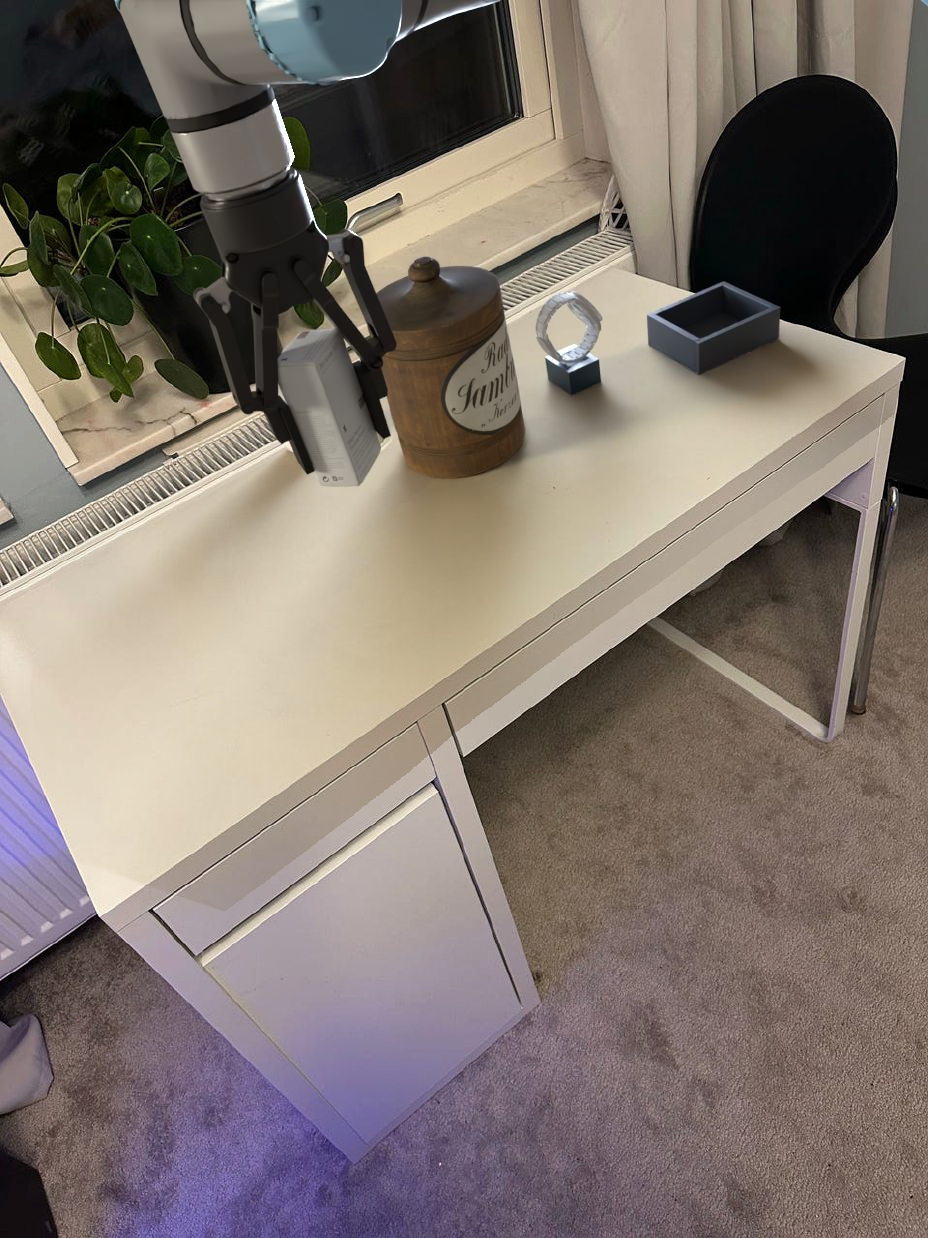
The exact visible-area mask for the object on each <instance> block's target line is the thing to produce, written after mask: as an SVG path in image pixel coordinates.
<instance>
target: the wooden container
mask: <svg viewBox="0 0 928 1238" xmlns="http://www.w3.org/2000/svg"><path fill="white" fill-rule="evenodd" d="M376 294H377V296H378V299H379V301H380V304H381V306H382V309H383V311H384V313H385V316H386V318H387V321H388V323H389V326H390V328H391V330H392V333H393V335H394V338H395V340H396V344H397V345H396V348H395V350H393V351H392V352H387V353H386V354H385V355H384V356H383V357H382V359H383V366H382V368H381V369H382V372H383V375H384V379H385V382H386V385H387V389H388V395H387V396H386V400H387V404H388V408H389V411H390V414H391V419H392V422H393V425H394V428H395V431H396V434H397V438H398V442H399V445H400V448H401V452H402V455H403V458H404V460H405V461H404V462H405V463H406V464H407V465H408V467H410V468H411V469H412V470H413V471H415V472H416V473H419V474H421V475H424V476H427V477H432V478H438V479H457V478H465V477H469V476H474V475H477V474H480V473H483V472H485V471H489V470H492V469H493V468H495V467H497V466H499V465H501V464H502V463H504V462H506V461H507V460H508V459H509V458H511V457H512V456H513V455H514V454H515V453H516V452H517V451H518V450H519V448H520V447H521V446H522V444H523V442H524V440H525V435H526V426H525V420H524V413H523V408H522V399H521V394H520V388H519V387H520V386H519V382H518V376H517V370H516V365H515V360H514V356H513V351H512V346H511V339H510V335H509V330H508V329H509V328H508V323H507V320H506V313H505V306H504V300H503V294H502V288H501V284H500V281H499V279H498V277H497V275H496V274H495V273H493V272H492V271H490V270H488V269H486V268H482V267H478V266H472V265H450V266H449V265H448V266H441V265H440V262H439V260H437V259H436V258H434V257H430V256H422V257H421V256H420V257H418V258H417V259H414V261H413V262H412V263H411V264H410V265H409V267H408V270H407V275H406V276H404V277H401V278H400V279H397V280H395V281H393V282H391V283H389V284H387V285H386V286H384V287H382V288H381V289H380V290H379V291H377V292H376ZM366 327H367V331H368V334H369V338H370V339H371V338H372V335H371V333H370V331H369V328H368V326H367V325H366Z"/></svg>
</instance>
